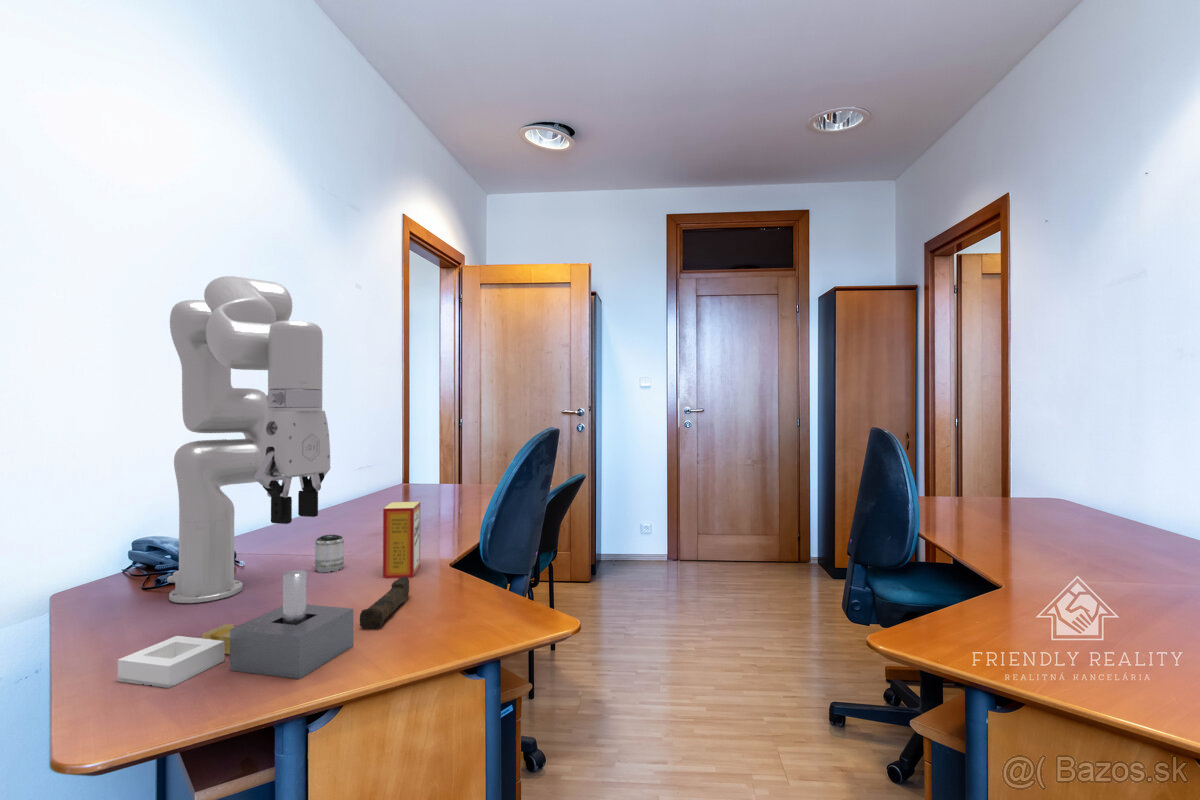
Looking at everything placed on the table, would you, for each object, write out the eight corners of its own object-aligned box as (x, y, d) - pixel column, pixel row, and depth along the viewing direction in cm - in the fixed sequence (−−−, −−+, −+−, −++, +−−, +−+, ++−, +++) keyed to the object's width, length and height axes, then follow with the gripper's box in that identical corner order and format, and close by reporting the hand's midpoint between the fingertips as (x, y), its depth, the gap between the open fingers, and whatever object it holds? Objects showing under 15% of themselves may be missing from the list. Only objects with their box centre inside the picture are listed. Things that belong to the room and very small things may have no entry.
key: (201, 653, 93) (202, 633, 93) (225, 642, 97) (225, 623, 97) (269, 661, 90) (269, 641, 90) (291, 649, 94) (291, 630, 94)
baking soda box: (392, 567, 143) (392, 500, 143) (420, 566, 144) (420, 499, 144) (383, 578, 134) (383, 507, 134) (413, 577, 135) (413, 506, 135)
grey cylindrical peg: (277, 660, 91) (278, 575, 91) (293, 652, 94) (293, 569, 94) (295, 663, 90) (296, 576, 90) (310, 654, 93) (311, 570, 93)
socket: (229, 670, 87) (229, 629, 87) (290, 639, 99) (290, 602, 99) (299, 679, 84) (299, 636, 85) (353, 645, 96) (353, 608, 96)
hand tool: (381, 632, 103) (381, 605, 103) (358, 631, 103) (358, 604, 103) (420, 597, 122) (421, 574, 122) (401, 596, 122) (402, 573, 122)
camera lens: (326, 574, 137) (326, 540, 137) (309, 570, 140) (309, 537, 140) (349, 568, 142) (349, 535, 142) (332, 564, 145) (332, 532, 145)
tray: (117, 681, 84) (117, 659, 84) (176, 655, 93) (176, 635, 93) (168, 688, 82) (169, 666, 82) (224, 660, 91) (224, 641, 91)
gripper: (274, 401, 83) (273, 532, 83) (352, 402, 99) (351, 511, 99) (229, 401, 85) (228, 529, 85) (313, 402, 101) (312, 509, 101)
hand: (295, 518), depth 92 cm, fingers open, 4 cm apart
